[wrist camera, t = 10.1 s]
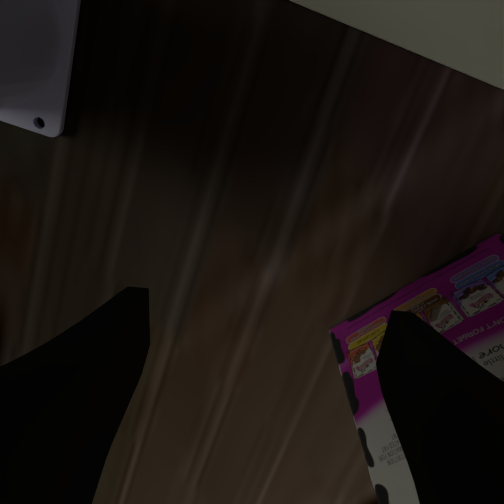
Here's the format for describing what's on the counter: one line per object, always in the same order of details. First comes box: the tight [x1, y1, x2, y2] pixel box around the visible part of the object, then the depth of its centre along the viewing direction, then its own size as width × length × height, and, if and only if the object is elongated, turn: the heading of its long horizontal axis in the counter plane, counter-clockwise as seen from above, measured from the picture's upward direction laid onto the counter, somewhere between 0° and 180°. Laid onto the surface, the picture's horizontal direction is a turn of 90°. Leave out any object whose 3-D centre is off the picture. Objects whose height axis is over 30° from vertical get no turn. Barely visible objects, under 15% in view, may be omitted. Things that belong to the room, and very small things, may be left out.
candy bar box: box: [329, 234, 504, 504], centre depth 17 cm, size 11×5×16 cm, turn 127°
